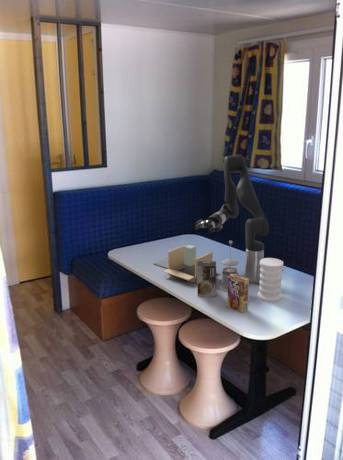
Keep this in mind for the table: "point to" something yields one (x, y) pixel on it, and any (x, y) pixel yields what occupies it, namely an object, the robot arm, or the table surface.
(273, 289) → the decorative container
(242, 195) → the robot arm
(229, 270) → the french press
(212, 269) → the coffee box
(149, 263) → the table surface
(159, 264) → the mat
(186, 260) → the box
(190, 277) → the carton
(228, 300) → the candy box
